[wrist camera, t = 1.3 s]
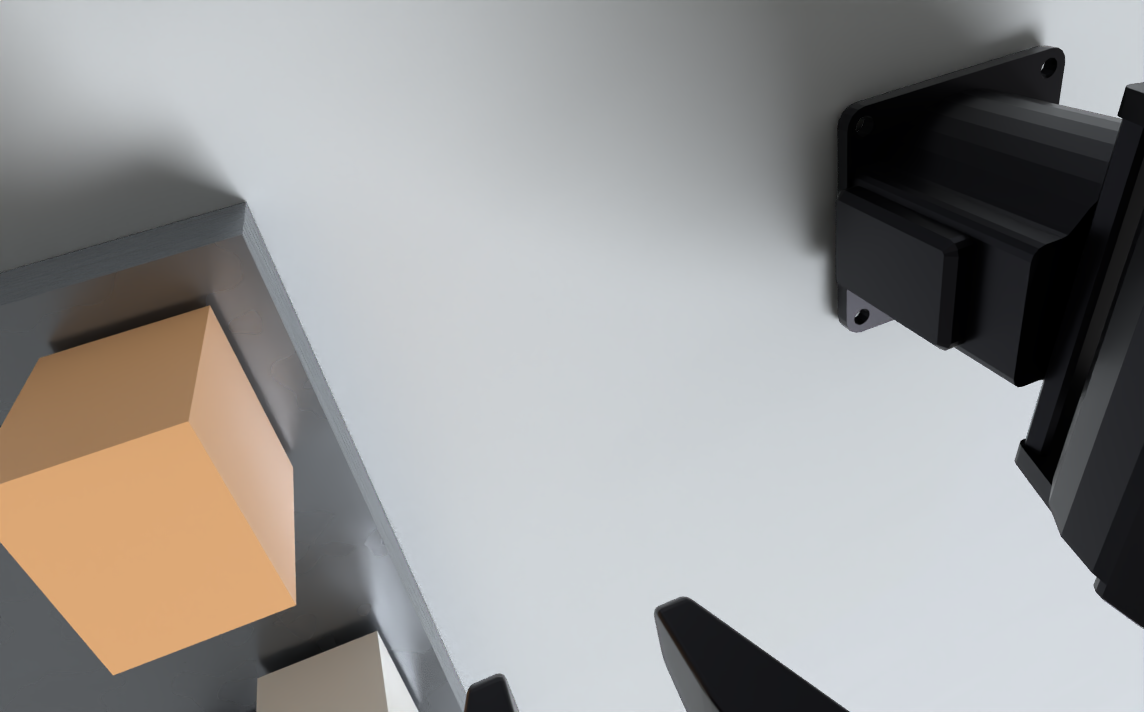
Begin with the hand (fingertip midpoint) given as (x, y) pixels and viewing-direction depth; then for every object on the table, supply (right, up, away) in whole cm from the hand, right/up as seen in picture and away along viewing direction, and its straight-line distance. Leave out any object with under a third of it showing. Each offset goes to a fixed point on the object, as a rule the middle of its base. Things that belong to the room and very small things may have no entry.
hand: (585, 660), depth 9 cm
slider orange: (-8, +2, +6) cm, 10 cm away
